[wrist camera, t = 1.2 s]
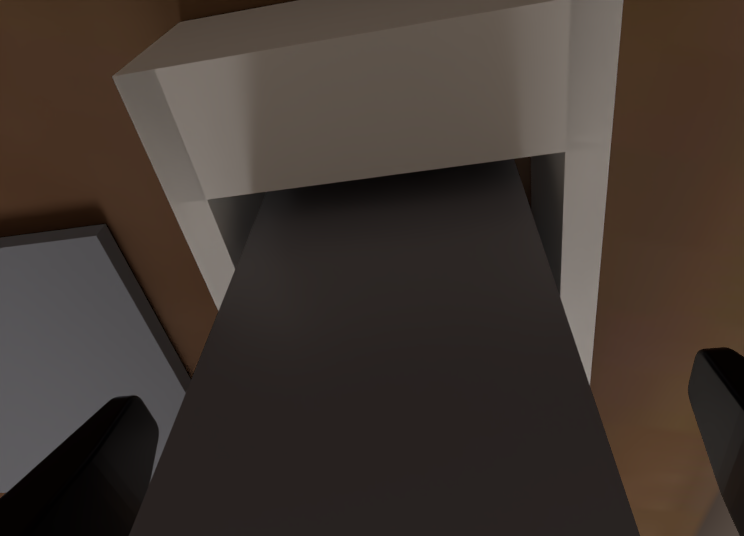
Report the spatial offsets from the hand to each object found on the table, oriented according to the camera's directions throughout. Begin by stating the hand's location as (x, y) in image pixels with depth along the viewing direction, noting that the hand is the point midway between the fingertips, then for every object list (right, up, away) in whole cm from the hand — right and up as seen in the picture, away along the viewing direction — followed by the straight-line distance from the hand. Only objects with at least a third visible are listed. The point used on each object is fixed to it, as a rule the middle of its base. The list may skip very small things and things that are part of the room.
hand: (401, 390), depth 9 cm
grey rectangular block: (0, +3, +4) cm, 5 cm away
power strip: (+2, -4, +9) cm, 10 cm away
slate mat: (-11, -1, +8) cm, 14 cm away
